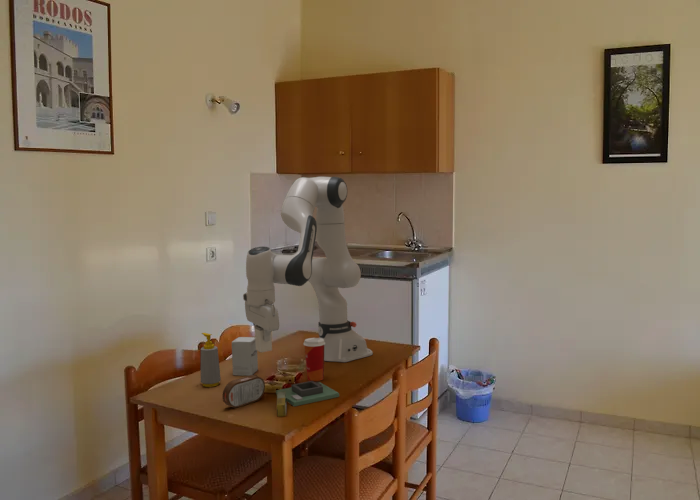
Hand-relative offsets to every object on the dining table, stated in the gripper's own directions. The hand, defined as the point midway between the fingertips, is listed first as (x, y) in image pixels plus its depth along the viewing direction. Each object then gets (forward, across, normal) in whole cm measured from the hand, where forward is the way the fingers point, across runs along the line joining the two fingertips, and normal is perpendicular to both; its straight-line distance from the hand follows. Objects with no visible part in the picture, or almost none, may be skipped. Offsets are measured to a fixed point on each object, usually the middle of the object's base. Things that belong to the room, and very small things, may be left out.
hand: (263, 339), depth 209 cm
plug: (+4, 0, 0) cm, 4 cm away
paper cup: (+19, +5, -21) cm, 28 cm away
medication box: (+19, -16, +1) cm, 25 cm away
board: (+18, -9, -11) cm, 23 cm away
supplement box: (+19, +26, -3) cm, 32 cm away
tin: (+19, -5, +9) cm, 21 cm away
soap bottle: (+18, +20, +12) cm, 30 cm away
